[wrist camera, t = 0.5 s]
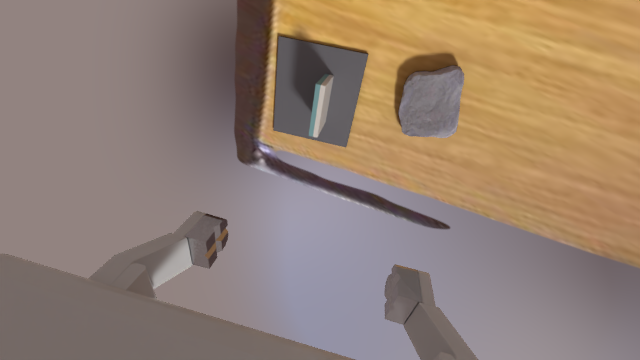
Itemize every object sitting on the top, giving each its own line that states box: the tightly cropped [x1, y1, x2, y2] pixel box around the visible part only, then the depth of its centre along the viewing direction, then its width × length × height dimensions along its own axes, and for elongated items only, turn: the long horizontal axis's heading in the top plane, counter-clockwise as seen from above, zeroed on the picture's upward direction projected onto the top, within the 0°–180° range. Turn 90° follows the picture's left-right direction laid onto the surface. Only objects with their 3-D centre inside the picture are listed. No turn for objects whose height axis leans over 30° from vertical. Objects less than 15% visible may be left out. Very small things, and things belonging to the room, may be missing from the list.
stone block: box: [399, 66, 464, 138], centre depth 46 cm, size 12×5×10 cm
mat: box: [274, 36, 368, 147], centre depth 50 cm, size 18×16×1 cm
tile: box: [309, 74, 334, 138], centre depth 47 cm, size 9×2×8 cm, turn 171°
